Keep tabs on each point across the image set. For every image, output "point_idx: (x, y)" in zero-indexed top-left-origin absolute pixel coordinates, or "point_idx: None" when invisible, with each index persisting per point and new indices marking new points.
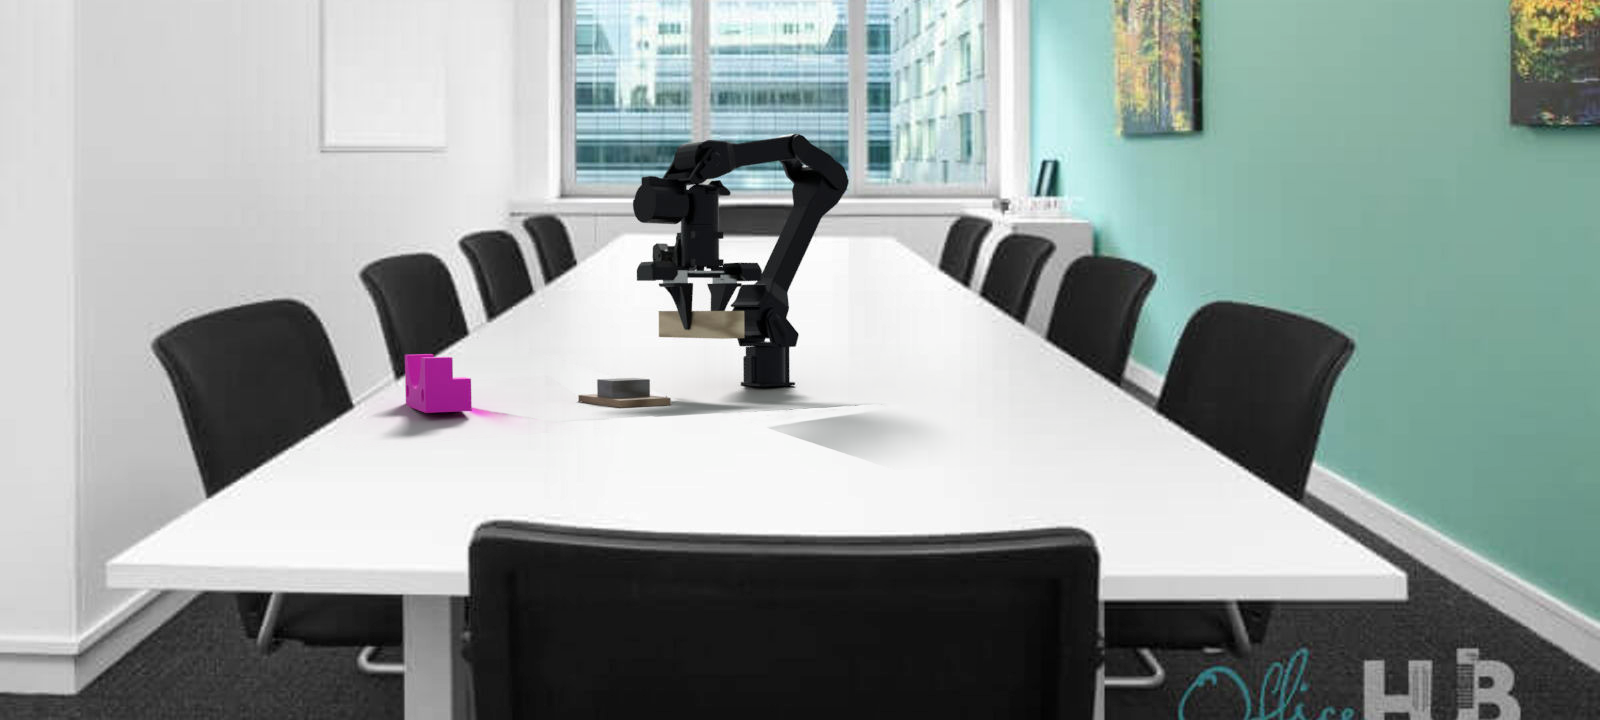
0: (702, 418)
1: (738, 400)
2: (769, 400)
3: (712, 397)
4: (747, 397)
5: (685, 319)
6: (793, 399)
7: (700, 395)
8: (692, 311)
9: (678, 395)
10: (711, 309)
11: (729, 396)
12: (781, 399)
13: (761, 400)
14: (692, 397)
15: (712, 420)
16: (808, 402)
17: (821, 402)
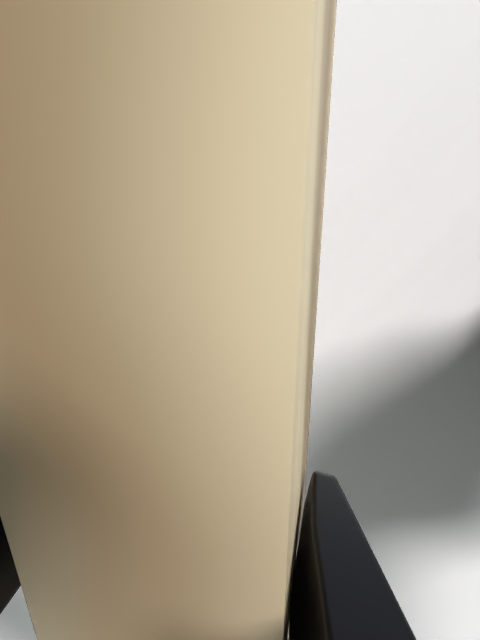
0: (23, 598)
1: (332, 413)
2: (393, 480)
3: (378, 250)
4: (460, 349)
5: None
6: (474, 511)
7: (437, 111)
8: (26, 590)
9: (374, 28)
10: (318, 636)
11: (464, 259)
12: (451, 485)
13: (378, 463)
14: (328, 190)
15: (22, 621)
16: (402, 587)
17: (424, 610)
